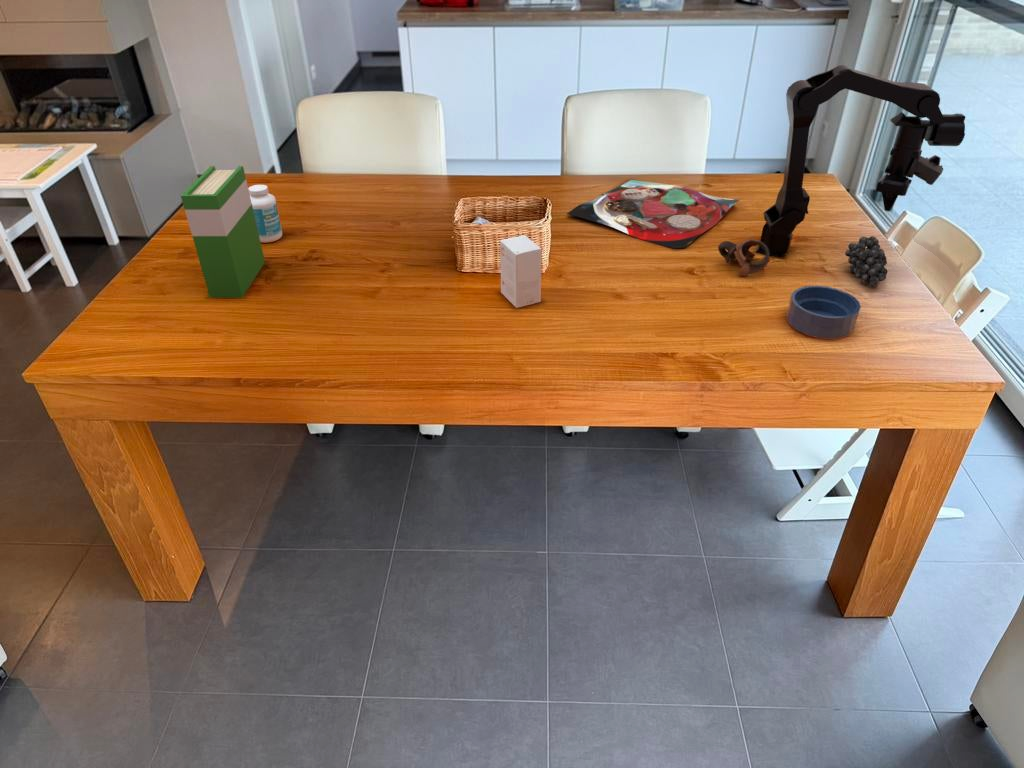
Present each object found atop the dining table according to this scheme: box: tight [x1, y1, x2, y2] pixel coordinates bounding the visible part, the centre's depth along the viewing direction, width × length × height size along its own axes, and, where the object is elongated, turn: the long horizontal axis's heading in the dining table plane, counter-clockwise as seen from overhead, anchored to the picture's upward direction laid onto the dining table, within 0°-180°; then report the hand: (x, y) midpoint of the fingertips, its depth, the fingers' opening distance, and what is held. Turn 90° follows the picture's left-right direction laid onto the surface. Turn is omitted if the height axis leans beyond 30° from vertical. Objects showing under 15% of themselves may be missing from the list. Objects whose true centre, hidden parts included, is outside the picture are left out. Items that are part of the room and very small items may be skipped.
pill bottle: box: [248, 184, 283, 244], centre depth 188 cm, size 8×7×14 cm
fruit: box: [844, 235, 889, 289], centre depth 169 cm, size 9×8×15 cm
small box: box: [499, 234, 543, 309], centre depth 161 cm, size 8×6×13 cm
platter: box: [566, 179, 740, 250], centre depth 202 cm, size 35×35×2 cm
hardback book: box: [180, 165, 266, 299], centre depth 166 cm, size 18×7×24 cm, turn 179°
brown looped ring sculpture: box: [717, 238, 771, 277], centre depth 174 cm, size 12×10×8 cm
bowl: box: [786, 285, 862, 340], centre depth 153 cm, size 13×13×6 cm
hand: (887, 210), depth 175 cm, fingers closed
